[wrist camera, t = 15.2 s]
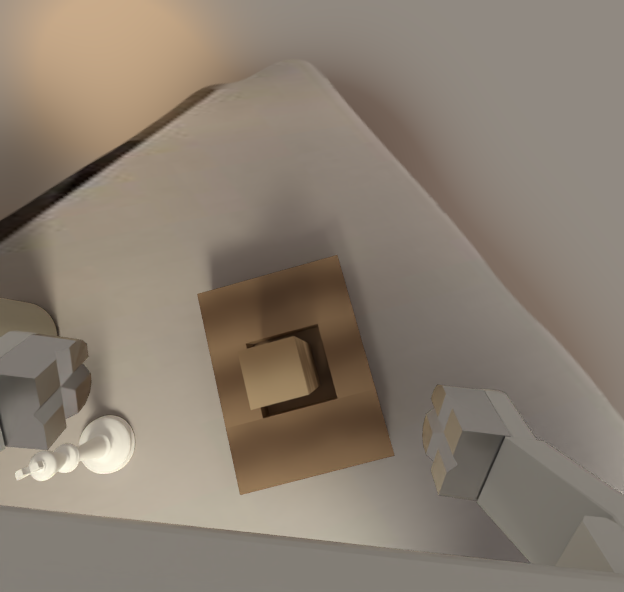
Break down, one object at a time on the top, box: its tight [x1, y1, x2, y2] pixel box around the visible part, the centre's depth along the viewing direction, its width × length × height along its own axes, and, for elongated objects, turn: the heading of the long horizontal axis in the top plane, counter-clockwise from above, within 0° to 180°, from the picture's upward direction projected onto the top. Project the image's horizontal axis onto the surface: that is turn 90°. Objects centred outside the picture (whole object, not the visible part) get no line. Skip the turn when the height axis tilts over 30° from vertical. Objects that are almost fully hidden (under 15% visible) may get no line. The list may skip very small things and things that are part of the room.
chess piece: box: [15, 415, 135, 481], centre depth 31 cm, size 5×5×10 cm
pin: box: [237, 336, 320, 410], centre depth 29 cm, size 4×4×10 cm
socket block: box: [197, 255, 395, 495], centre depth 34 cm, size 16×12×4 cm
